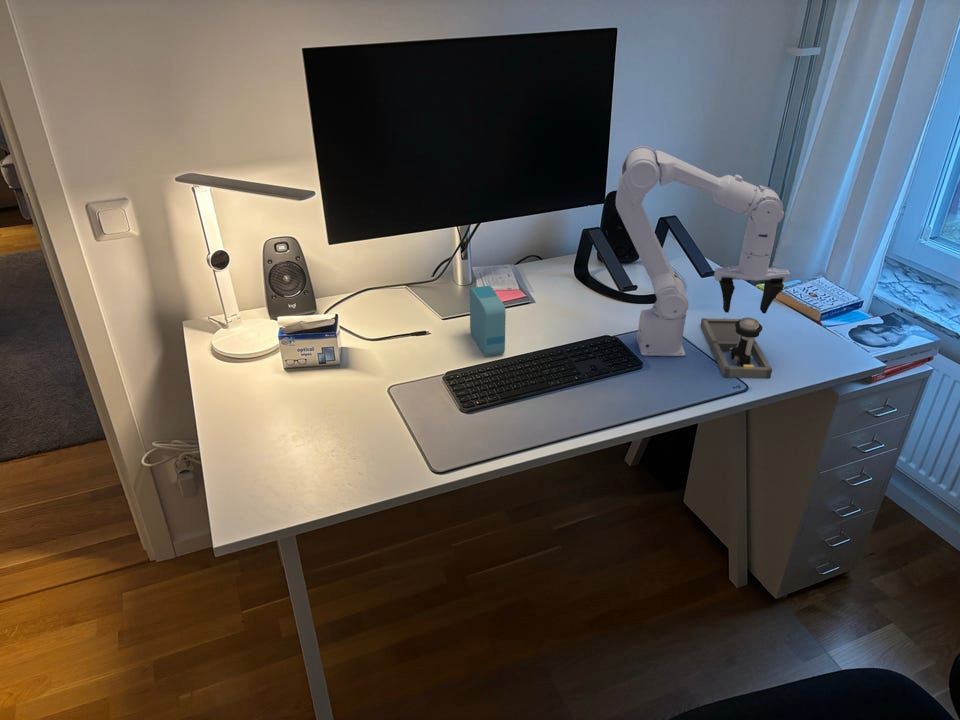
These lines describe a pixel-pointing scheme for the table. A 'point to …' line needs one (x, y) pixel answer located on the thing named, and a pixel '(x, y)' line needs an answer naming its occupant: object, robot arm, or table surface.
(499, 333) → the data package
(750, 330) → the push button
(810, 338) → the table surface
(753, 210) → the robot arm
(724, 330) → the shallow brown tray
